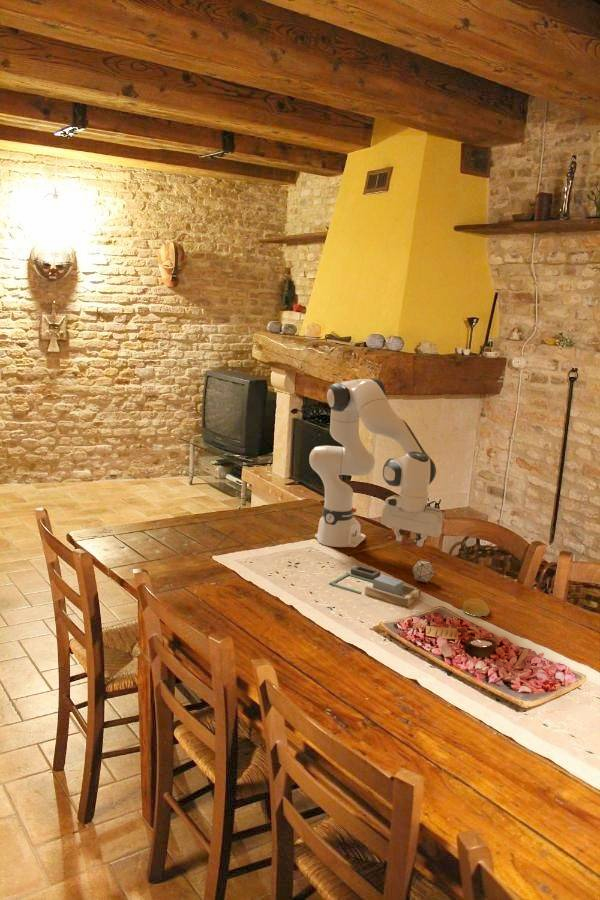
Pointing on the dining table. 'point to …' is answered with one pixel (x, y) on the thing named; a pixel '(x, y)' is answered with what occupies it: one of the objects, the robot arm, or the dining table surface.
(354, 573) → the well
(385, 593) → the beige c-shaped frame
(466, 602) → the bread roll
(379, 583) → the block
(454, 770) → the dining table surface
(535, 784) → the dining table surface
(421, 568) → the game die
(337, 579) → the frame
